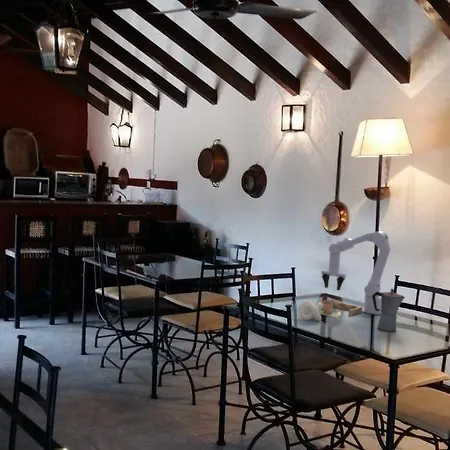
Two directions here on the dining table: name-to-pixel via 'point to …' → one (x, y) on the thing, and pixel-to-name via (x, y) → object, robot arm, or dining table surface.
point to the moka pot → (388, 309)
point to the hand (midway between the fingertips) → (332, 288)
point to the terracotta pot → (327, 306)
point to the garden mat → (330, 314)
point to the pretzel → (310, 310)
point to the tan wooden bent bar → (347, 308)
